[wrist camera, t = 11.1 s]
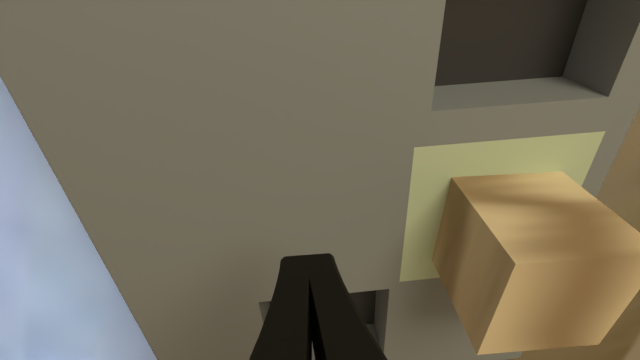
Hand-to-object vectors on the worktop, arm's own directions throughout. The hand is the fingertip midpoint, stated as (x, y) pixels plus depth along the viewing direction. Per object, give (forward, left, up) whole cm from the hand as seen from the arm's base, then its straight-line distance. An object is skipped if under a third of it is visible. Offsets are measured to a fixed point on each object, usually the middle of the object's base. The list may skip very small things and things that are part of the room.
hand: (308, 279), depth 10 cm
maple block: (+9, -3, -6) cm, 11 cm away
